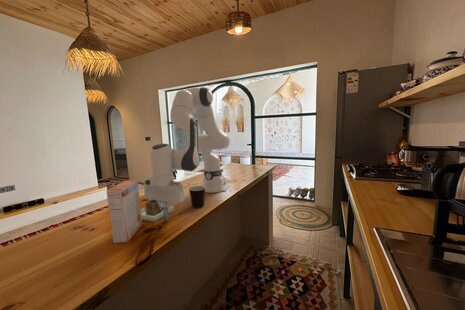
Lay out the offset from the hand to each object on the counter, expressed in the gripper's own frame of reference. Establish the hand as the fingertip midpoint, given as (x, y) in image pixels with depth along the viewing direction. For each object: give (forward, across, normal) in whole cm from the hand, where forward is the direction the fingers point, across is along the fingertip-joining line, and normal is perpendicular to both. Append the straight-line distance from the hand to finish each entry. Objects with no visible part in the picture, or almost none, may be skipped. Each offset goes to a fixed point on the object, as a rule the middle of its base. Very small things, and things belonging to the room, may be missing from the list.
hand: (165, 210), depth 90 cm
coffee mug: (+6, -3, -23) cm, 24 cm away
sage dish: (+6, +12, -5) cm, 14 cm away
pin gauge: (+5, 0, 0) cm, 5 cm away
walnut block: (+5, +12, -5) cm, 14 cm away
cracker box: (+6, +7, +14) cm, 17 cm away
